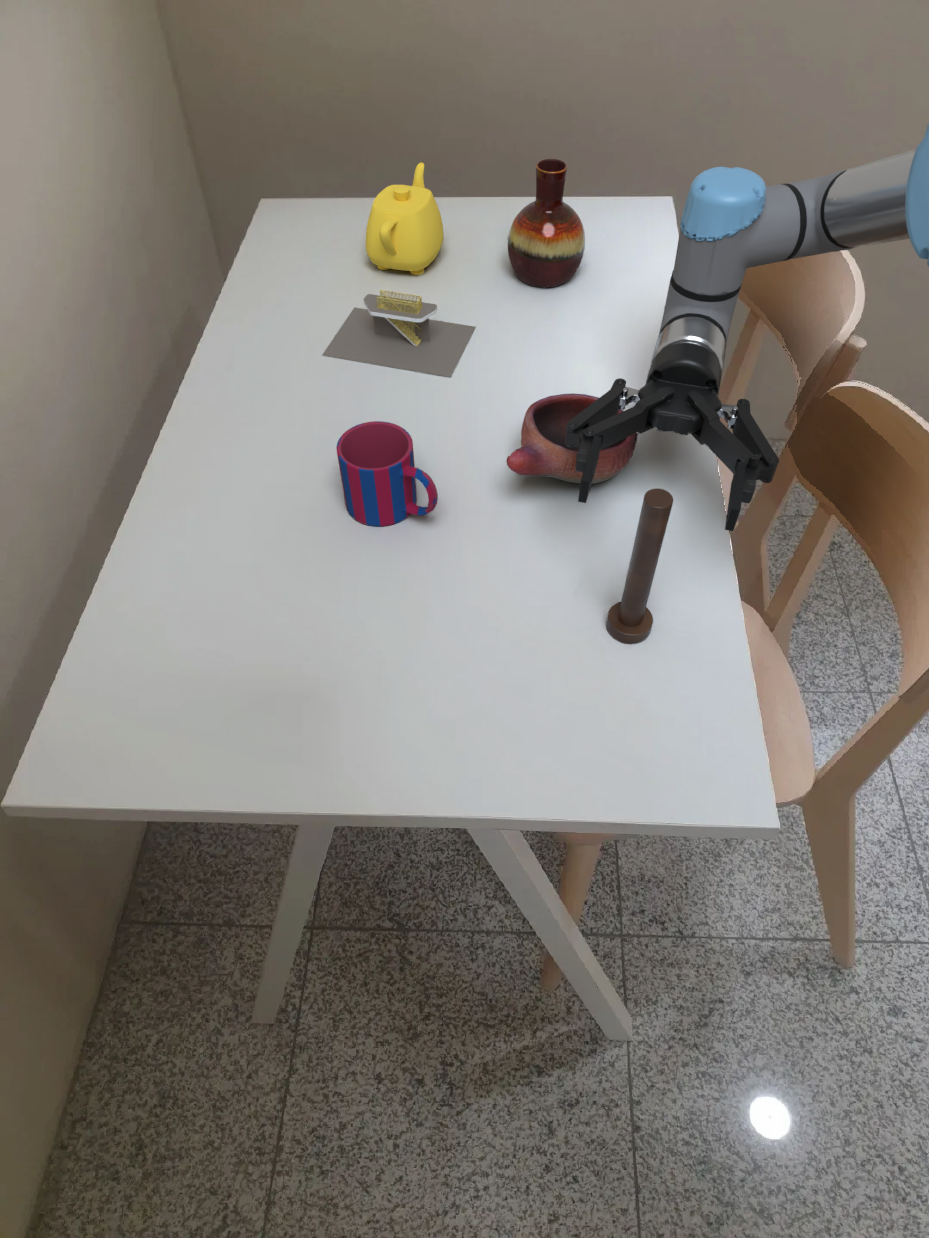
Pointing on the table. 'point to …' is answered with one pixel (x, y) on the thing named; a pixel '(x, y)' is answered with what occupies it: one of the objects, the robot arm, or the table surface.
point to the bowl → (562, 442)
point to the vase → (547, 232)
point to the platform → (400, 336)
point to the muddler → (641, 571)
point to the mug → (381, 474)
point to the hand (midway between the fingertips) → (656, 506)
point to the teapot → (404, 227)
